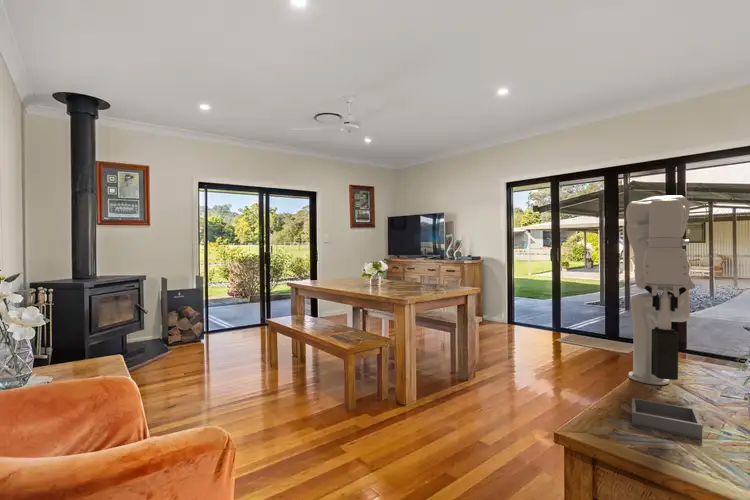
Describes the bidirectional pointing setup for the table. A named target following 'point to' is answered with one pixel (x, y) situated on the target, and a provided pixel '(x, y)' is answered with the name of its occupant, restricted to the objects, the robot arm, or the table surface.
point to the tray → (666, 418)
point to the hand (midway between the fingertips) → (664, 309)
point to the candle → (664, 343)
